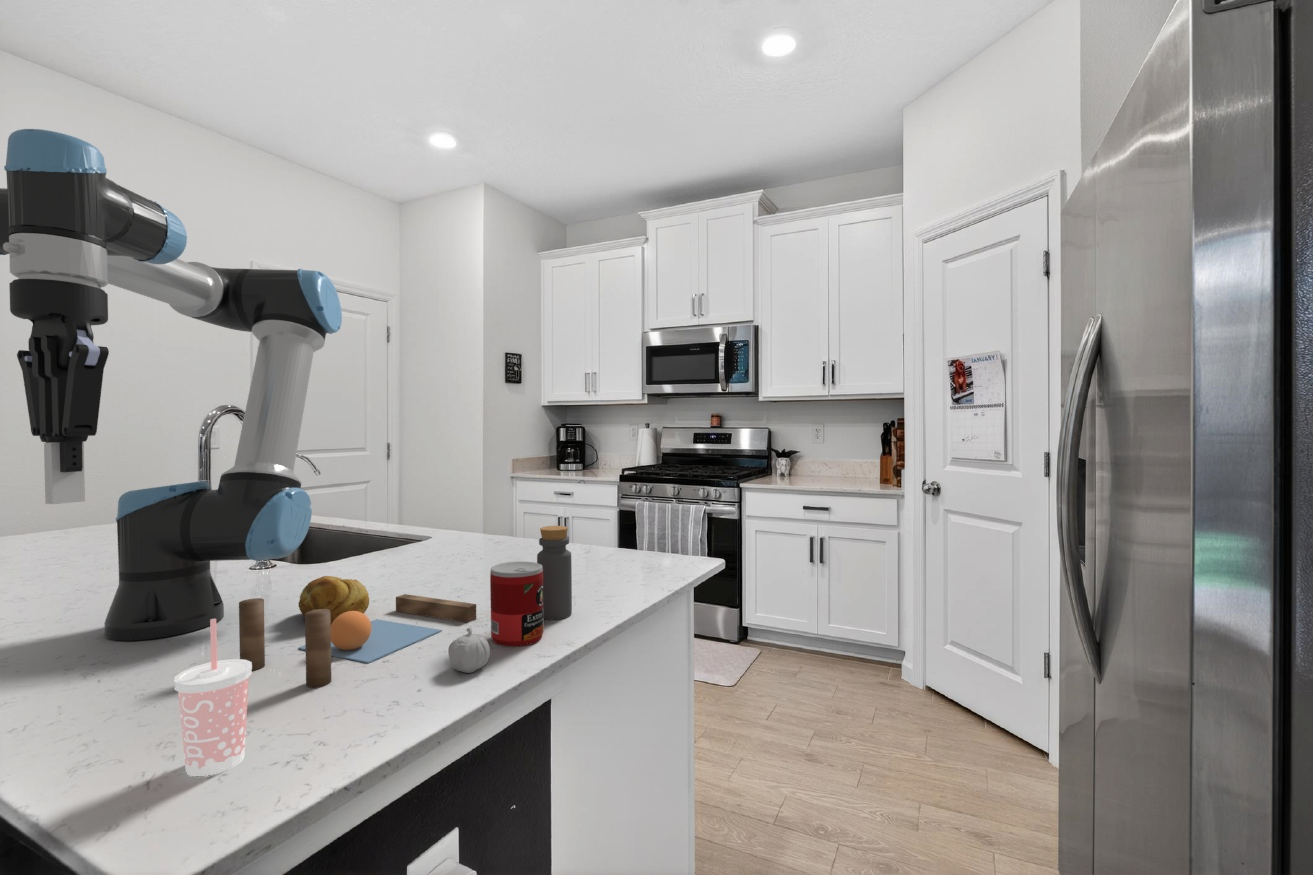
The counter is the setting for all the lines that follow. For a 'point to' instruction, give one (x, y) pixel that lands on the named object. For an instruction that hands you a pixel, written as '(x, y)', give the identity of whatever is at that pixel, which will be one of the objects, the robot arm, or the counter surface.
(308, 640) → the right post
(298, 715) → the counter surface
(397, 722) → the counter surface
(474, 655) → the garlic
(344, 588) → the bread roll
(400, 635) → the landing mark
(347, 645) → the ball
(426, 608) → the bar
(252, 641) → the left post
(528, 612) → the canned food
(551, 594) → the bottle
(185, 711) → the beverage cup
